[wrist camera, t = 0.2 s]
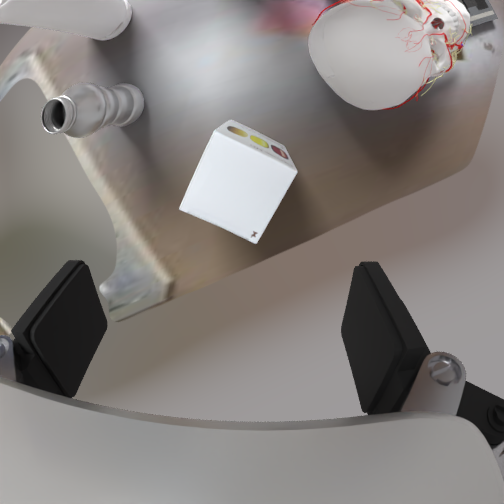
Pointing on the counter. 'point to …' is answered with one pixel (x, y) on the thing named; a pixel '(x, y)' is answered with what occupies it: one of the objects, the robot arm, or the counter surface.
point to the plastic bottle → (92, 109)
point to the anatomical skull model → (386, 47)
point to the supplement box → (239, 181)
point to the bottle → (70, 16)
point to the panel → (479, 11)
